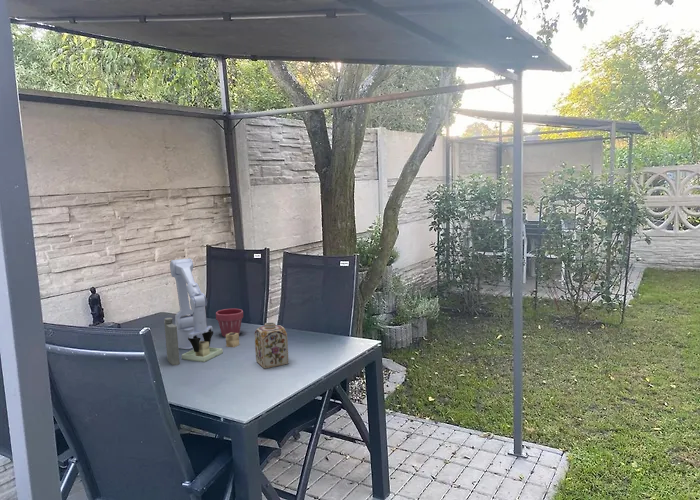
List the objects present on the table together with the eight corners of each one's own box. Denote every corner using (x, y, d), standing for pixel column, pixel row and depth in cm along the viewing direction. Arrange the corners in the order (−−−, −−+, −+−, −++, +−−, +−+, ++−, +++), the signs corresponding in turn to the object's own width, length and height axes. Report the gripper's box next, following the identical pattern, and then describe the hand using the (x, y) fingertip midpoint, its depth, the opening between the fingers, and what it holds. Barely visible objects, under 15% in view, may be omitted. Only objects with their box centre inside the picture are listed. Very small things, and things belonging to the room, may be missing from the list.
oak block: (226, 346, 256) (225, 334, 255) (231, 344, 260) (231, 332, 259) (233, 347, 254) (233, 335, 253) (239, 344, 258) (238, 332, 257)
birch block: (195, 356, 241) (194, 343, 240) (202, 353, 245) (201, 340, 244) (203, 356, 239) (202, 344, 238) (209, 353, 243) (208, 341, 243)
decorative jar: (263, 369, 221) (261, 328, 219) (255, 361, 232) (252, 322, 229) (289, 364, 227) (287, 324, 225) (280, 356, 237) (278, 318, 235)
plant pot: (250, 332, 279) (248, 309, 277) (231, 339, 267) (229, 315, 265) (230, 329, 286) (229, 307, 285) (211, 336, 275) (209, 313, 273)
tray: (181, 359, 239) (181, 354, 239) (200, 350, 251) (200, 346, 251) (204, 362, 234) (204, 357, 233) (222, 353, 246) (222, 348, 245)
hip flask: (180, 364, 232) (176, 321, 229) (170, 366, 230) (167, 322, 228) (173, 355, 246) (170, 313, 243) (165, 356, 244) (161, 315, 241)
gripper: (196, 325, 232) (198, 354, 234) (216, 317, 245) (218, 345, 247) (183, 324, 235) (186, 353, 236) (204, 316, 248) (206, 344, 250)
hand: (202, 349), depth 242 cm, fingers open, 7 cm apart
